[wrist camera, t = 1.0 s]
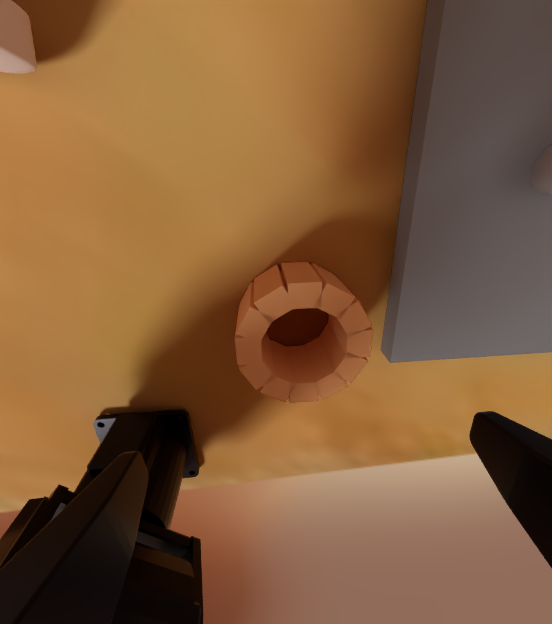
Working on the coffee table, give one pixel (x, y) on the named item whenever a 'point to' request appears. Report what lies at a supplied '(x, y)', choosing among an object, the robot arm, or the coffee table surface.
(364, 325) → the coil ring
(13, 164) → the coffee table surface
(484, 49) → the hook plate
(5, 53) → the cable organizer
